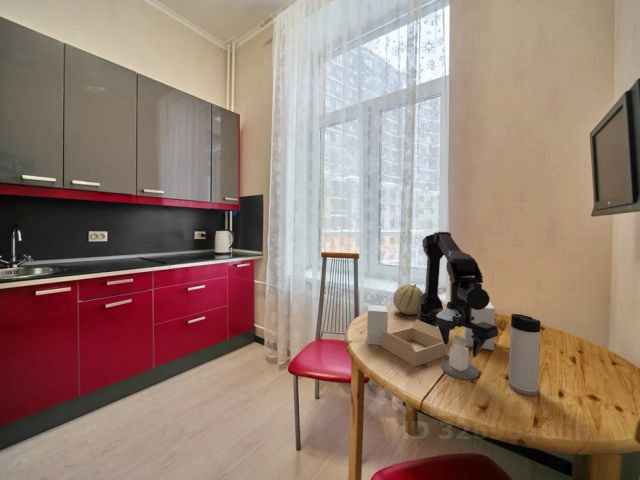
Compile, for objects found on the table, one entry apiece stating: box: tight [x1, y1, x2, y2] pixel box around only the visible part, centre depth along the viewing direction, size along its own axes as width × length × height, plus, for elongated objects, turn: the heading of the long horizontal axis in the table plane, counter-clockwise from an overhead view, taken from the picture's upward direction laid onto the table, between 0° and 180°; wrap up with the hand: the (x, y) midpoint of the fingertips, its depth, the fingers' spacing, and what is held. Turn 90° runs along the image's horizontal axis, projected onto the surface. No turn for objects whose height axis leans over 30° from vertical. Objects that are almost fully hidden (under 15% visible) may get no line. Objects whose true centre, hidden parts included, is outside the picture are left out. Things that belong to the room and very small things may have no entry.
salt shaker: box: [448, 334, 469, 371], centre depth 81 cm, size 4×4×10 cm
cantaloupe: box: [392, 283, 424, 316], centre depth 132 cm, size 15×15×15 cm
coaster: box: [440, 359, 479, 380], centre depth 81 cm, size 10×10×1 cm
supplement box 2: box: [463, 301, 496, 351], centre depth 99 cm, size 9×9×15 cm
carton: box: [380, 319, 448, 367], centre depth 93 cm, size 19×15×7 cm
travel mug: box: [508, 313, 542, 397], centre depth 71 cm, size 6×7×20 cm
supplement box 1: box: [366, 305, 389, 346], centre depth 101 cm, size 7×7×13 cm
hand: (459, 350), depth 81 cm, fingers open, 9 cm apart
